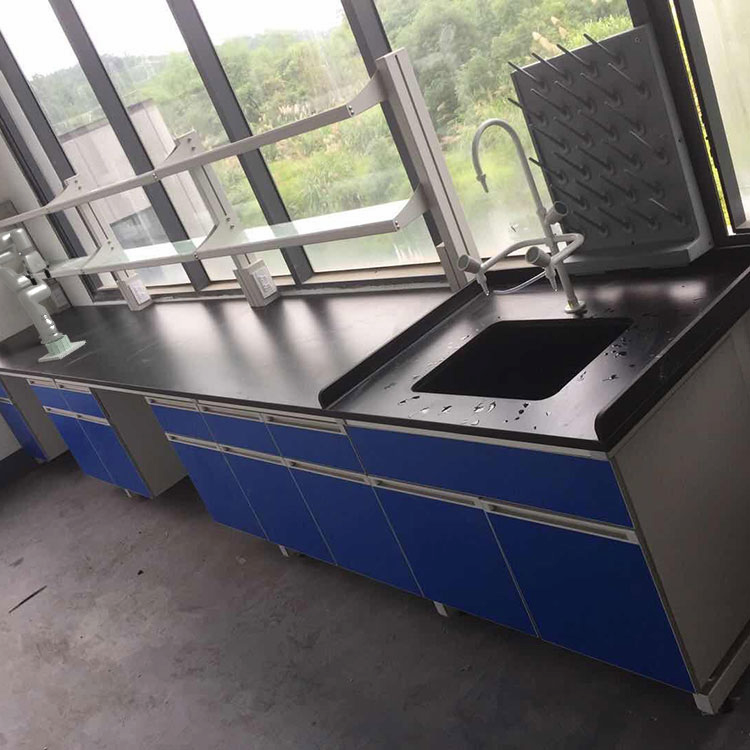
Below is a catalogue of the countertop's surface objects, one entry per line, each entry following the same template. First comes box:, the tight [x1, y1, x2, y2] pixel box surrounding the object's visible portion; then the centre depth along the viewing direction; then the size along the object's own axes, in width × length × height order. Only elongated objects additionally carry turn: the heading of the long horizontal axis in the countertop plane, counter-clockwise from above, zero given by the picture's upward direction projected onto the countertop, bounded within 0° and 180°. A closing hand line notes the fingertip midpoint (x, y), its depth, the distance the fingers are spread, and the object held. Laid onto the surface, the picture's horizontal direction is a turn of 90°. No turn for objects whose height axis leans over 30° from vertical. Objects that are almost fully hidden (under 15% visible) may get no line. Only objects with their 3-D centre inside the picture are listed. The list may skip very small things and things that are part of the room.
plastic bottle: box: [40, 314, 62, 343], centre depth 412 cm, size 6×7×20 cm
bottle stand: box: [37, 334, 87, 363], centre depth 414 cm, size 18×18×8 cm
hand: (42, 281), depth 427 cm, fingers open, 9 cm apart
